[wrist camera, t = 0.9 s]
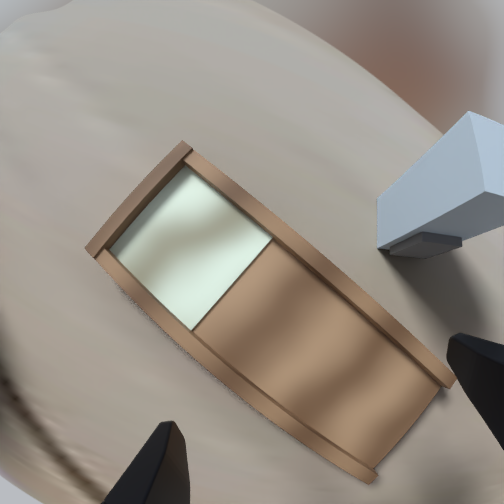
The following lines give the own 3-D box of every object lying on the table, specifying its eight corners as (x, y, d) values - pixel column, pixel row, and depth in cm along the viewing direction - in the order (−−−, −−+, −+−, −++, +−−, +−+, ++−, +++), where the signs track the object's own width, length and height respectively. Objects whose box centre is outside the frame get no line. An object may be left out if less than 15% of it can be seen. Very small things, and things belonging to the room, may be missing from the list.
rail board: (436, 371, 21) (458, 378, 18) (356, 466, 20) (369, 486, 16) (190, 161, 24) (182, 140, 21) (105, 256, 23) (84, 248, 19)
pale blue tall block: (426, 261, 23) (545, 221, 10) (376, 256, 23) (486, 205, 10) (424, 206, 23) (527, 136, 11) (376, 198, 23) (468, 110, 11)
